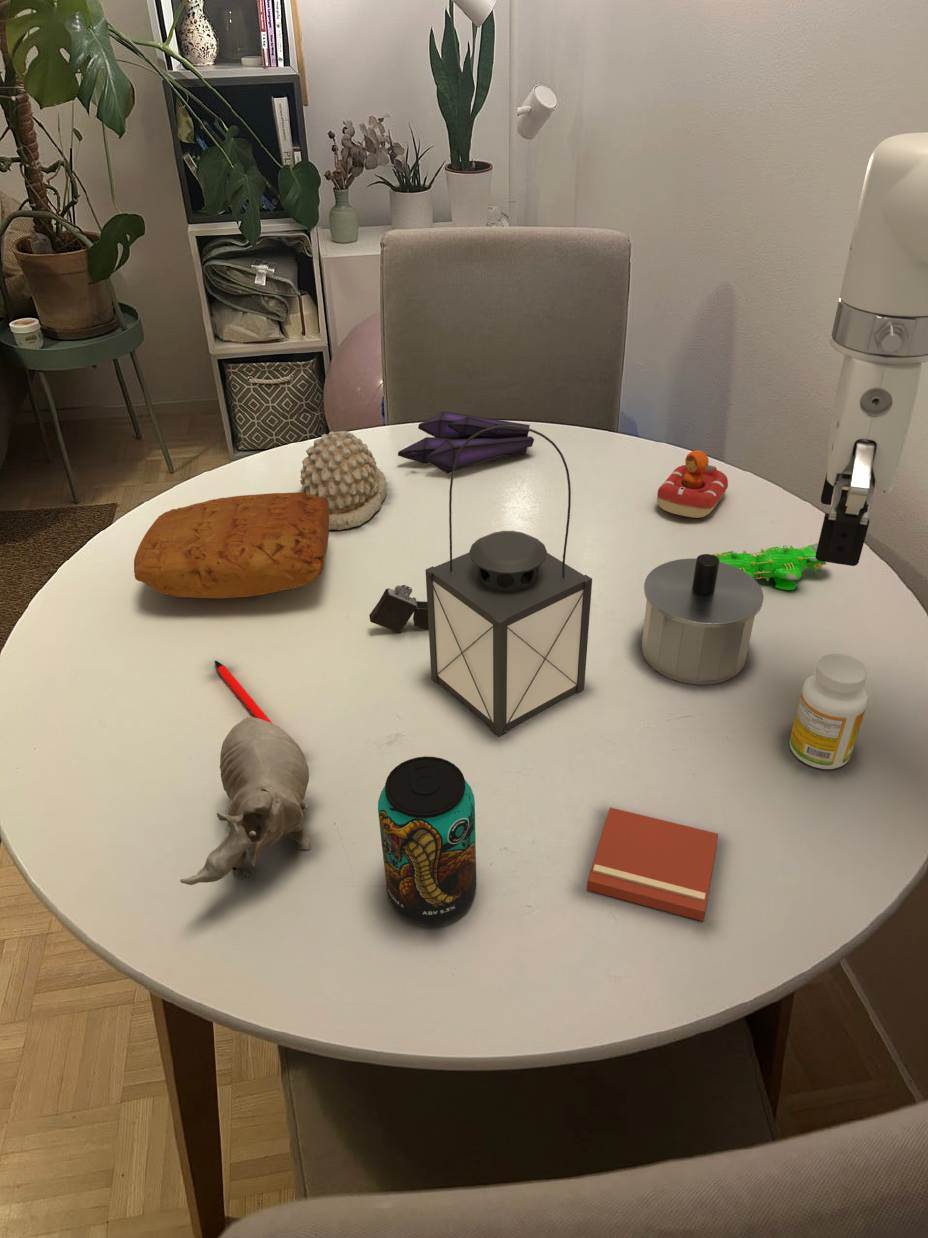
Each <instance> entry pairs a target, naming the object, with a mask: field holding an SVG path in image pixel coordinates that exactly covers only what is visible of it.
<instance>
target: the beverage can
mask: <svg viewBox="0 0 928 1238" xmlns="http://www.w3.org/2000/svg"><path fill="white" fill-rule="evenodd" d="M379 794H380V795H379V797H378V801H377V812H378V822H379V831H380V840H381V851H382V858H383V859H382V860H383V867H384V876H385V885H386V893H387V896H388V899H389V902H390V904H391V906H392V907H393V908H394V909H395V910H396V911H397V912H398V913H399V914H400V915H402V916H403V917H404V918H406V919H408V920H411V921H413V922H416V923H421V924H438V923H444V922H447V921H449V920H453V919H454V918H456V917H457V916H459V915H460V914H462V913H463V912H464V911H465V910H466V909H468V907H469V906H470V904H471V903H472V902H473V900H474V897H475V895H476V891H477V886H478V885H477V845H476V843H477V841H476V840H477V839H476V836H477V835H476V801H475V795H474V791H473V789H472V787H471V786H470V784H469V783H468V781H467V780H466V779H465V777H464V774H463V772H462V771H461V769H460V768H459V767H458V766H457V765H456V764H455V763H453V762H451V761H449V760H447V759H444V758H442V757H438V756H437V757H436V756H425V755H424V756H417V757H413V758H410V759H407V760H404V761H403V762H400V763H399V764H398V765H396V766H395V767H394V768H393V769H392V770H391V771H390V772H389V774H388V776H387V777H386V780H385V783H384V786H383V788H382V790H381V791H380V793H379Z"/></svg>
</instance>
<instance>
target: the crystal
mask: <svg viewBox="0 0 928 1238" xmlns="http://www.w3.org/2000/svg"><path fill="white" fill-rule="evenodd" d="M504 425H514V426H521V427H526V428H530V427H531V425H530V424H526V423H519V422H513V421H507V420H502V419H494V418H489V417H483V416H475V415H469V414H463V413H456V412H450V411H442V412H440V413H438V414H435V415H434V416H432V417H430V418H428V419H426V420H424V421H423V422H421V423H419V424H418V427H417V429H418V430H420V431H422V432H424V433H426V434H428V435H430V436H426V437H424V438H422V439H420V440H418V441H416V442H414V443H413V444H411V445H409V446H407V447H405V448H402V449H400V450H399V451H398V452H397V456H398V457H400V458H404V459H407V460H411V461H414V462H418V463H420V464H424V465H426V464H430V465H432V466H433V467H436V468H437V469H439V470H441V471H442V472H444V473H445V474H448V475H449V474H451V473H452V469H453V465H454V461H455V459H456V457H457V455H458V452H459V450H460V448H461V447H462V446H463V445H464V443H465V442H466V441H467V440H468V439H469V438H470V437H471V436H473V435H475V434H476V433H478V432H479V431H481V430H484V429H487V428H491V427H494V426H504ZM529 433H530V431H528V430H523V429H518V428H497V429H492V430H489V431H485V432H483V433H481V434H479V435H477V436H476V437H474V438H472V439H471V440H470V441H469V442H468V444H467V445H466V446H465V447H464V448H463V449H462V451H461V453H460V456H459V458H458V460H457V462H456V467H455V471H454V473H455V472H457V471H461V470H464V469H467V468H470V467H473V466H476V465H480V464H482V463H485V462H488V461H491V460H494V459H498V458H500V457H507V456H517V455H518V456H519V455H526V454H527V450H528V448H531V447H533V444H534V442H535V438H534V437H533V436H529ZM431 436H432V437H431Z"/></svg>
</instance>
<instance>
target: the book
mask: <svg viewBox="0 0 928 1238" xmlns="http://www.w3.org/2000/svg"><path fill="white" fill-rule="evenodd" d="M718 839H719V833H718V832H717V833H716V832H713V831H709V830H705V829H701V828H697V827H693V826H688V825H685V824H680V823H676V822H672V821H667V820H665V819H659V818H654V817H651V816H647V815H642V814H639V813H635V812H630V811H626V810H624V809H623V810H622V809H619V808H616V807H615V808H614V807H609V809H608V812H607V816H606V818H605V822H604V826H603V828H602V832H601V835H600V838H599V842H598V845H597V847H596V848H597V849H596V851H595V855H594V859H593V862H592V864H591V869H590V871H589V875H588V879H587V885H586V890H587V891H589V892H593V893H597V894H599V895H605V896H608V897H612V898H615V899H619V900H623V901H627V902H630V903H634V904H637V905H641V906H645V907H649V908H653V909H656V910H660V911H664V912H667V913H671V914H675V915H678V916H681V917H685V918H689V919H693V920H696V921H700V922H704V920H705V915H706V911H707V904H708V898H709V892H710V886H711V881H712V880H711V878H712V874H713V868H714V863H715V856H716V850H717V845H718Z"/></svg>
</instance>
